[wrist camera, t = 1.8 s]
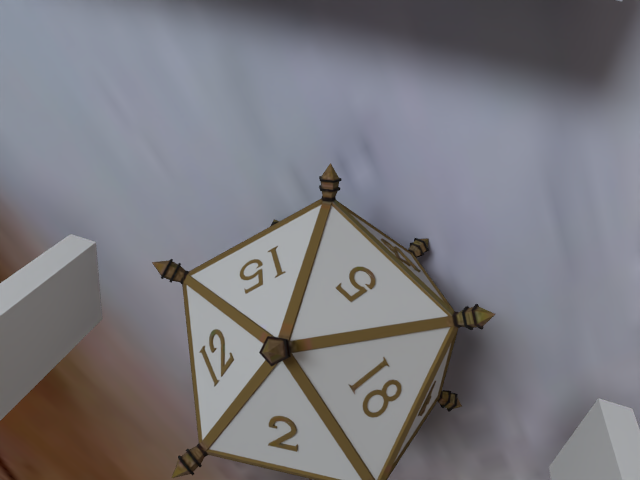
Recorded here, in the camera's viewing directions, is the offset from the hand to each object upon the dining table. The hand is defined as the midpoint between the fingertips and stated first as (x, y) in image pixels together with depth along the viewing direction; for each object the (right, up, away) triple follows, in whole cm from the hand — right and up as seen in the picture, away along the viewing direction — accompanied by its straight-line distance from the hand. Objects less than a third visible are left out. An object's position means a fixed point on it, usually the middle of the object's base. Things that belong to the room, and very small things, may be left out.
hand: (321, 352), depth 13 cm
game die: (+1, +2, +5) cm, 5 cm away
